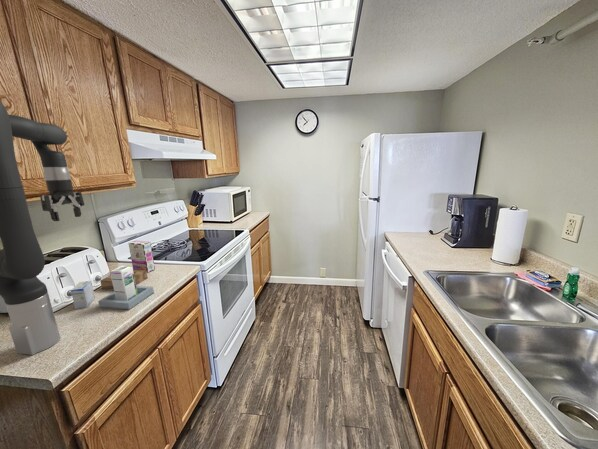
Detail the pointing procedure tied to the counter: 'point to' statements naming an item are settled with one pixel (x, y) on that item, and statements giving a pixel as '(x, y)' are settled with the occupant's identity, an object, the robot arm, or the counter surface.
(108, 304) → the tray
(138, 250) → the candy bar box
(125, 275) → the syrup box
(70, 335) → the counter surface
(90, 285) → the medicine box
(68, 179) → the robot arm
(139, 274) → the socket collar
